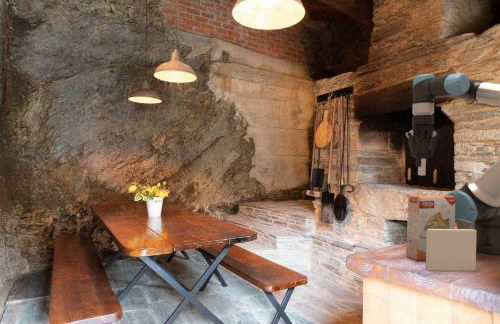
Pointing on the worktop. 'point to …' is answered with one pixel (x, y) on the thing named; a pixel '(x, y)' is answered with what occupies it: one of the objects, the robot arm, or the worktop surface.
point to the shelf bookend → (452, 248)
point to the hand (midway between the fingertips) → (421, 175)
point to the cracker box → (427, 220)
